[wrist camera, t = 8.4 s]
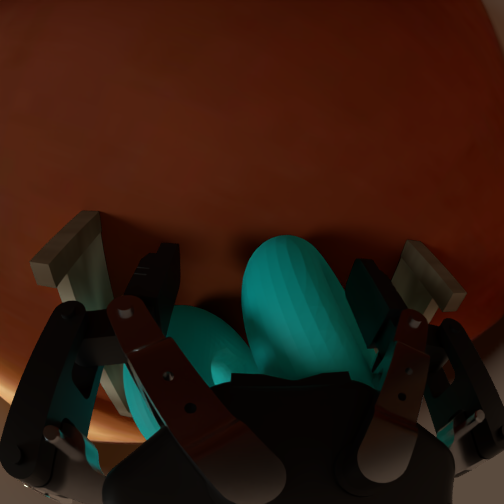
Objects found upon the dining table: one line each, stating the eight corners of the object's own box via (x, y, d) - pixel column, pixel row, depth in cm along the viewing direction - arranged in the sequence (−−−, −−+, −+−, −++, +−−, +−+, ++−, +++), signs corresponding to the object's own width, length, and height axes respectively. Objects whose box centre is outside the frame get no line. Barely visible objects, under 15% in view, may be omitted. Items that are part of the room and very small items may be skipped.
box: (81, 210, 13) (29, 261, 8) (420, 241, 15) (466, 292, 10) (128, 378, 21) (116, 426, 17) (340, 389, 23) (352, 434, 19)
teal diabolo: (141, 286, 16) (88, 439, 7) (280, 189, 13) (347, 373, 4) (239, 366, 20) (242, 487, 12) (358, 308, 17) (410, 441, 9)
